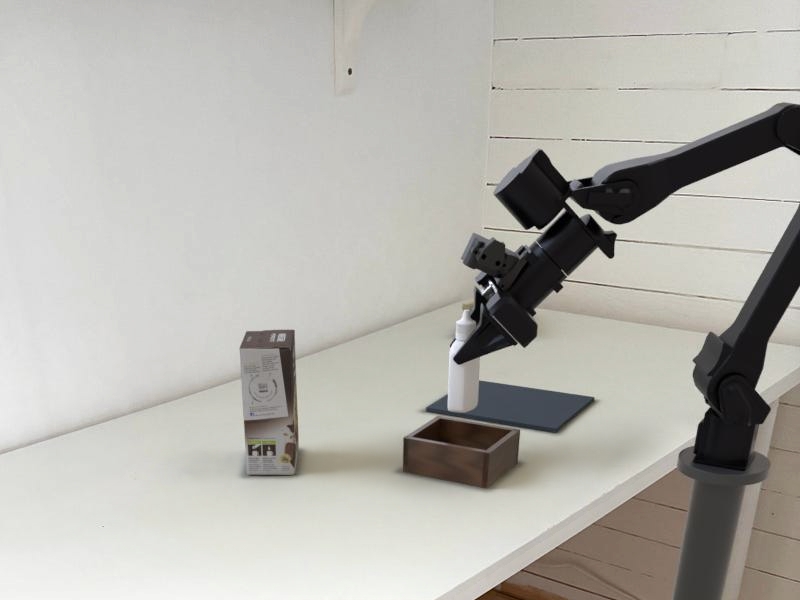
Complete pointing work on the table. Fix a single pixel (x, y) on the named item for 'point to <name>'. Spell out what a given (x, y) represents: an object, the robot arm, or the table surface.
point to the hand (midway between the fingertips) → (453, 355)
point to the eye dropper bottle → (463, 371)
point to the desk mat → (520, 406)
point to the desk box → (461, 451)
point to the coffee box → (270, 401)
